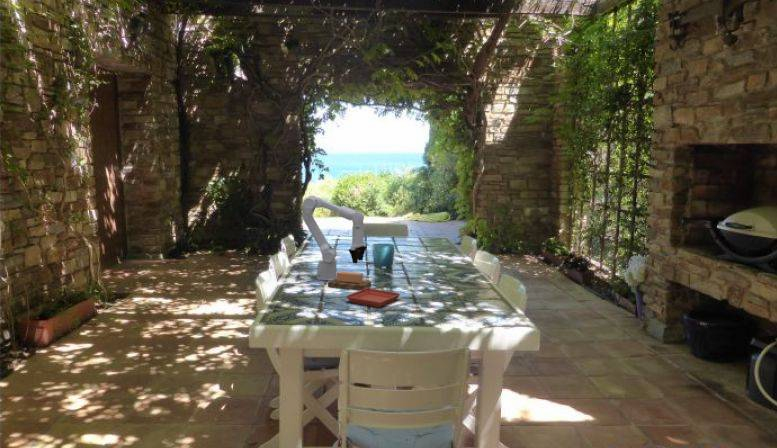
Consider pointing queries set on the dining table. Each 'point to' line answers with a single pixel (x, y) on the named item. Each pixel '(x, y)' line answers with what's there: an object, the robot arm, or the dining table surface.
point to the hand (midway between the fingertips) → (357, 261)
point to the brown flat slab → (349, 285)
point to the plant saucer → (373, 297)
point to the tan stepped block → (350, 277)
